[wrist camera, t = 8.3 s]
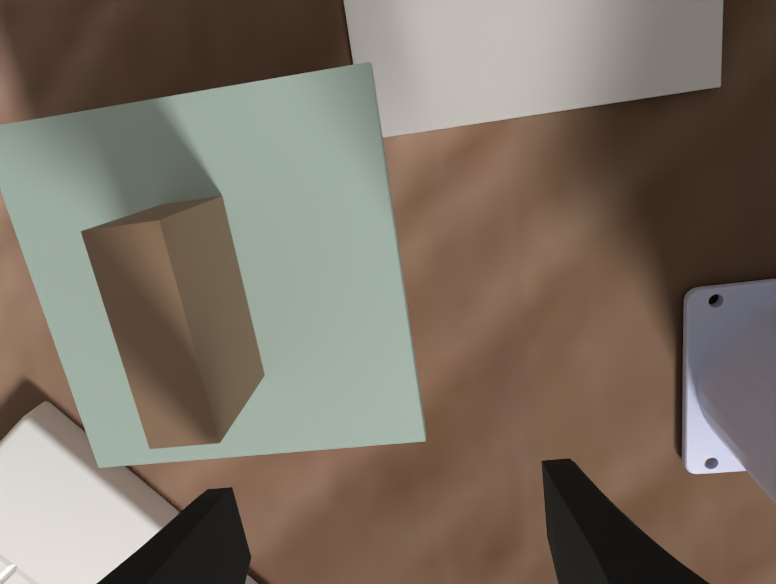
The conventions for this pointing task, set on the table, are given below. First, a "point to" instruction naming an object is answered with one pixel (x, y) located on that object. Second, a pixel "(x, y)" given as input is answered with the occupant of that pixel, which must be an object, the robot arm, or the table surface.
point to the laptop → (68, 505)
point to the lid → (221, 269)
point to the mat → (528, 55)
